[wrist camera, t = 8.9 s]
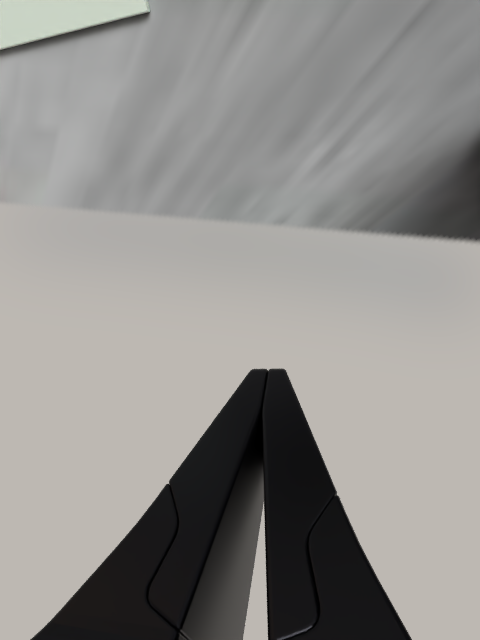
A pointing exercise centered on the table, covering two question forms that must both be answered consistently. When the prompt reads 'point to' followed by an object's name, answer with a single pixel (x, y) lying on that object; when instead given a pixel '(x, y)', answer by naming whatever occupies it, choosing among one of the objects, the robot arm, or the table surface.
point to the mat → (59, 17)
